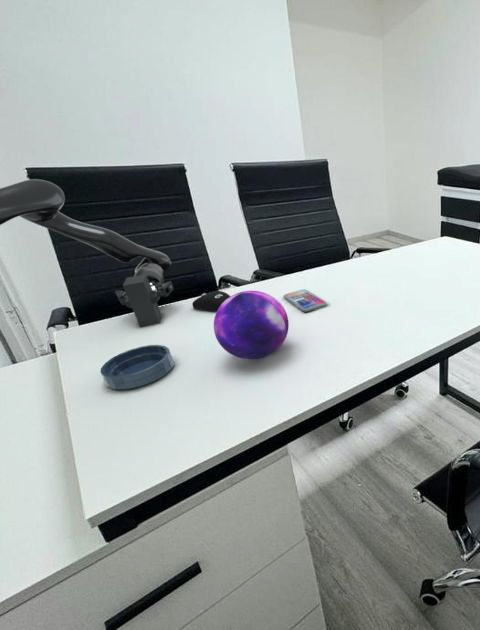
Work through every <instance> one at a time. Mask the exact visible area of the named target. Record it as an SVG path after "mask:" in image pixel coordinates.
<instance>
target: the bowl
mask: <svg viewBox="0 0 480 630" xmlns="http://www.w3.org/2000/svg"><path fill="white" fill-rule="evenodd" d="M174 366H175V361H174V358H173V355H172V353H171V350H170V348H169V347H168V346H166V345H163V344H149V345H143V346H138V347H134V348H131V349H129V350H125V351H123V352H121V353H119V354H116V356H113V357H111V358H110V359H109V360H107V361H106V362H105V363H104V364H103V365H102V366H101V368H100V375H101V376H102V379H103V381H104V383H105V384H106V386H107V387H108V388H109V389H112V390H130V389H135V388H139V387H143V386H145V385H148V384H150V383H153V382H156V381H157V380H158V379H160V378H163V376H165V375H166V374H168V373H169V372H170V371H171V370H172V368H173V367H174Z"/></svg>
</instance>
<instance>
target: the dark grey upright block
mask: <svg viewBox="0 0 480 630" xmlns="http://www.w3.org/2000/svg"><path fill="white" fill-rule="evenodd" d="M122 287H123V290H124V292H126V295H127V297H128V299H129V302H130V304H131V307H132V308H131V309H132V311H133V314H134V316H135V318H136V321H137V323H138V325H139V327H140V328H143V327H148V326H152V325H157V324H161V318H162V312H161V309H160V306H159V304H158V301H157V302H156V303H155V304H152V301H151V299H150V295H151V292H152V288H151V286H150V283H149V280H148V278H147V275H140V276H134V275H133V276H129V277H126V278H125V280H124V281H123V284H122Z"/></svg>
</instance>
